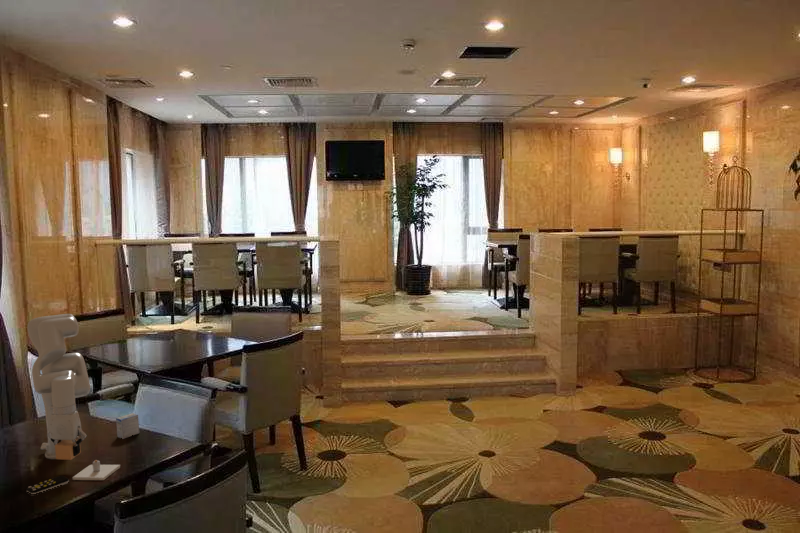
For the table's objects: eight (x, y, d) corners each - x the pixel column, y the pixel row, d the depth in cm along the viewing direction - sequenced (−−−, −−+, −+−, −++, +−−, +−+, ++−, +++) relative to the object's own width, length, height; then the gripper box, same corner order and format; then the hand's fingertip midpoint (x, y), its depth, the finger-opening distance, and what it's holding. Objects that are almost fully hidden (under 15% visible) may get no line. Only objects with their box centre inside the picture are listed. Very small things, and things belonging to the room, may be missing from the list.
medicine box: (134, 431, 273) (132, 412, 273) (139, 433, 271) (138, 414, 270) (117, 437, 267) (115, 418, 266) (122, 439, 265) (121, 419, 264)
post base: (72, 479, 226) (71, 466, 225) (90, 467, 237) (89, 454, 236) (103, 480, 224) (102, 466, 224) (120, 467, 235) (119, 454, 235)
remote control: (70, 483, 224) (70, 478, 224) (32, 497, 214) (32, 491, 214) (63, 479, 228) (62, 473, 227) (25, 492, 218) (24, 487, 217)
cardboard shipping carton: (56, 459, 231) (54, 445, 231) (66, 452, 237) (65, 438, 237) (71, 459, 231) (69, 445, 230) (80, 452, 237) (79, 439, 236)
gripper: (36, 412, 229) (40, 457, 231) (80, 413, 227) (83, 459, 229) (49, 404, 236) (53, 449, 239) (92, 406, 234) (95, 450, 237)
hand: (68, 453), depth 234 cm, fingers closed on cardboard shipping carton, 5 cm apart
